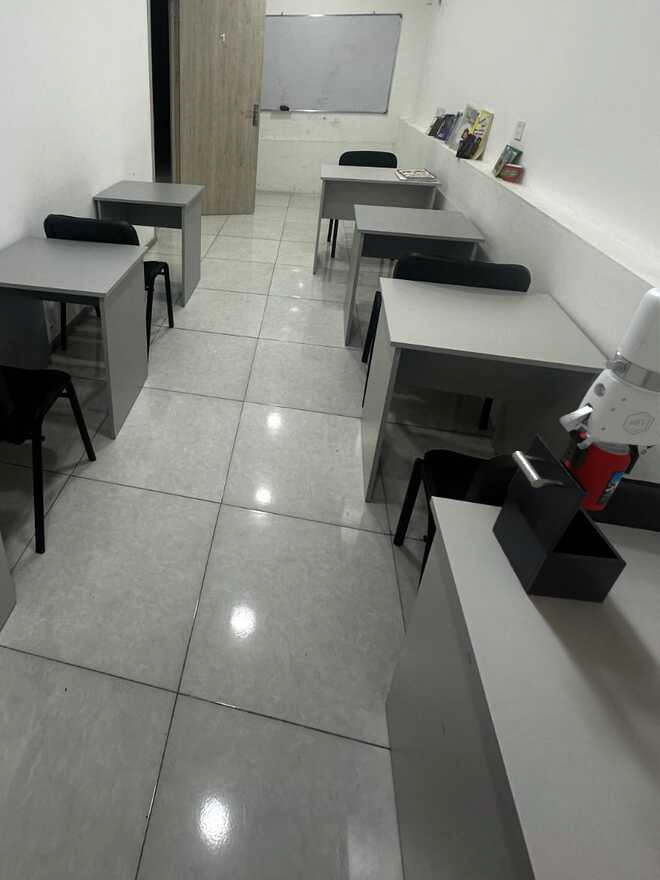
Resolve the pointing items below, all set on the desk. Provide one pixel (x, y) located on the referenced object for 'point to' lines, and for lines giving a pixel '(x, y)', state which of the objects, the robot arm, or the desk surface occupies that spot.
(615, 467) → the beverage can
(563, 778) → the desk surface
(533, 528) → the lid
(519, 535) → the box
